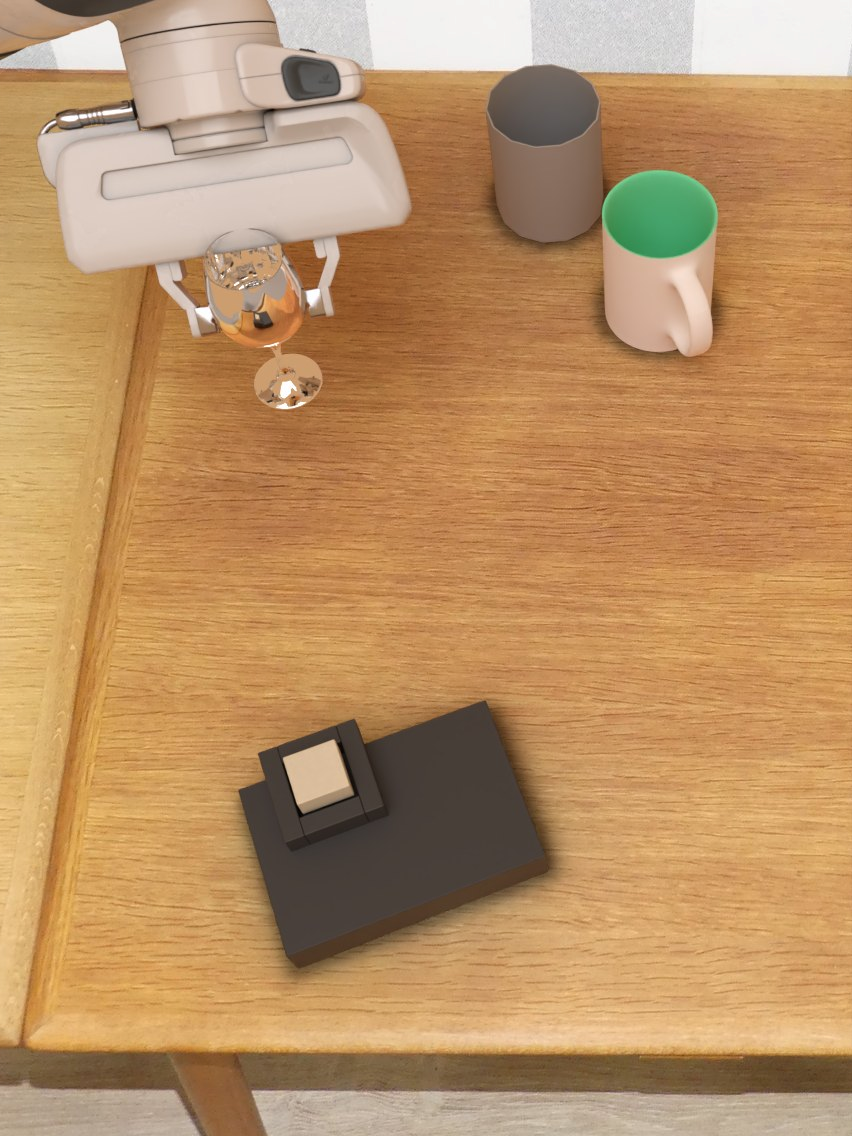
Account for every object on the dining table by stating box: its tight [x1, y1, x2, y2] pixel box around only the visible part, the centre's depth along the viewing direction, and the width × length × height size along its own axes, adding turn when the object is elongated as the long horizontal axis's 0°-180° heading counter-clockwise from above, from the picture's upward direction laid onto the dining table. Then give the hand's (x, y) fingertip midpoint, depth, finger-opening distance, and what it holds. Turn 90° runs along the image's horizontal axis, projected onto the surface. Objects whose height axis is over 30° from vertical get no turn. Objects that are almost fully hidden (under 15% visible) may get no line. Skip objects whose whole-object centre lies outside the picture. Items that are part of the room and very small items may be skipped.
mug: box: [601, 169, 719, 358], centre depth 103 cm, size 12×8×10 cm
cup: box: [484, 63, 604, 243], centre depth 109 cm, size 8×8×10 cm
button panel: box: [238, 699, 549, 970], centre depth 88 cm, size 12×16×5 cm
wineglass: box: [202, 228, 324, 411], centre depth 88 cm, size 6×6×12 cm
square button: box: [283, 740, 354, 814], centre depth 86 cm, size 3×3×2 cm
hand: (266, 326), depth 87 cm, fingers closed on wineglass, 6 cm apart
